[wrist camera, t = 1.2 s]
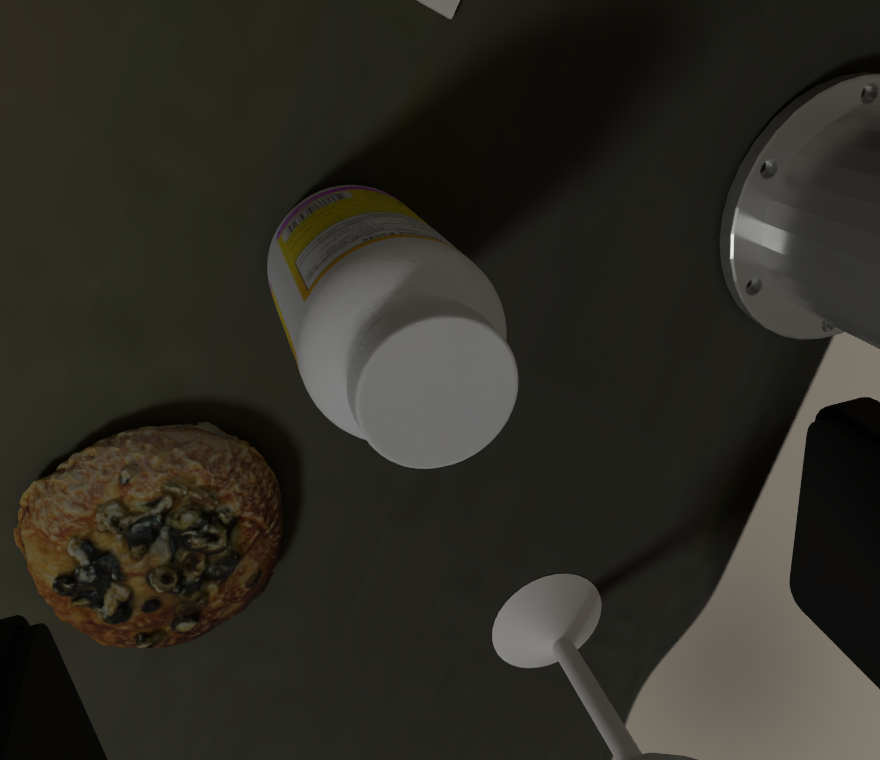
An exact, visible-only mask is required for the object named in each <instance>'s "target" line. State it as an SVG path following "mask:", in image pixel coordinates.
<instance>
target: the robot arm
mask: <svg viewBox="0 0 880 760" xmlns="http://www.w3.org/2000/svg"><path fill="white" fill-rule="evenodd" d="M720 255H721V266H722V270H723V274H724V277H725V281H726V284H727V287H728V289H729V291H730V293H731V295H732V296H733V298H734V300H735V302H736V304H737V305H738V306H739V307H740V308H741V309H742V310H743V311H744V313H745V314H746V315H747V316H748V317H749V318H751V319H752V320H754V321H755V322H757V323H759V324H760V325H762V326H763V327H765V328H767V329H769V330H771V331H773V332H775V333H777V334H779V335H782V336H785V337H790V338H796V339H821V338H825V337H829V336H833V335H837V334H840V333H843V332H847V333H849V334H851V335H853V336H855V337H857V338H859V339H861V340H863V341H865V342H867V343H869V344H871V345H873V346H875V347H877V348H879V349H880V73H868V72H861V73H855V74H849V75H843V76H839V77H837V78H834V79H832V80H829V81H827V82H824V83H822V84H819V85H817V86H815V87H814V88H812V89H811V90H809V91H807V92H806V93H804V94H803V95H801V96H799V97H798V98H796V99H795V100H794V101H792V102H791V103H790V104H789V105H788V106H787V107H786V108H785V109H783V110H782V111H781V112H780V113H779V114H778V115H777V116H776V117H774V119H773V120H772V121H771V122H770V123H769V125H768V126H767V127H766V128H765V129H764V131H763V132H762V133H761V134H760V135H759V137H758V138H757V139H756V140H755V142H754V143H753V145H752V147H751V148H750V150H749V152H748V153H747V155H746V156H745V158H744V160H743V161H742V163H741V165H740V167H739V169H738V171H737V174H736V176H735V178H734V181H733V183H732V185H731V188H730V190H729V193H728V197H727V201H726V204H725V208H724V212H723V216H722V224H721V233H720ZM790 589H791V593H792V595H793V598H794V600H795V602H796V603H797V605H798V606H799V607H800V609H801V610H802V611H803V612H804V613H805V614H806V615H807V616H808V617H809V618H810V619H811V620H812V621H813V622H814V623H815V624H816V625H817V626H818V627H819V628H820V629H821V630H822V631H823V632H824V633H825V634H826V635H827V636H828V637H829V638H830V639H831V640H832V641H833V642H834V643H835V644H836V645H837V646H838V647H839V648H840V649H841V651H843V653H844V654H845V655H847V657H848V658H850V659H851V661H853V662H854V664H855V665H856V666H857V667H858V668H859V669H860V670H861V671H862V672H863V673H864V674H865V675H866V676H867V677H868V678H869V679H870V680H871V681H872V682H873V683H874V684H875V685H876V686H877V687H878V688H879V689H880V402H878V401H877V400H874V399H872V398H869V397H863V398H858V399H854V400H850V401H846V402H842V403H838V404H834V405H830V406H827V407H825V408H823V409H821V410H820V411H819V413H818V414H817V415H816V419H815V422H813V423H811V425H810V426H809V428H808V431H807V437H806V446H805V454H804V462H803V471H802V480H801V488H800V496H799V506H798V513H797V522H796V531H795V539H794V547H793V556H792V564H791V573H790ZM0 760H107V757H106V755H105V753H104V751H103V748H102V746H101V744H100V742H99V739H98V737H97V735H96V733H95V731H94V728H93V726H92V724H91V722H90V719H89V717H88V715H87V713H86V711H85V708H84V706H83V704H82V702H81V699H80V697H79V695H78V693H77V690H76V688H75V686H74V684H73V682H72V679H71V677H70V675H69V673H68V670H67V668H66V666H65V664H64V661H63V659H62V657H61V655H60V653H59V650H58V648H57V646H56V644H55V641H54V639H53V637H52V635H51V633H50V631H49V629H48V627H47V626H46V625H45V624H42V623H40V624H36V625H32V626H30V625H29V623H28V621H27V620H26V619H25V618H24V617H23V616H20V615H16V616H12V617H8V618H4V619H0Z"/></svg>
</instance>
